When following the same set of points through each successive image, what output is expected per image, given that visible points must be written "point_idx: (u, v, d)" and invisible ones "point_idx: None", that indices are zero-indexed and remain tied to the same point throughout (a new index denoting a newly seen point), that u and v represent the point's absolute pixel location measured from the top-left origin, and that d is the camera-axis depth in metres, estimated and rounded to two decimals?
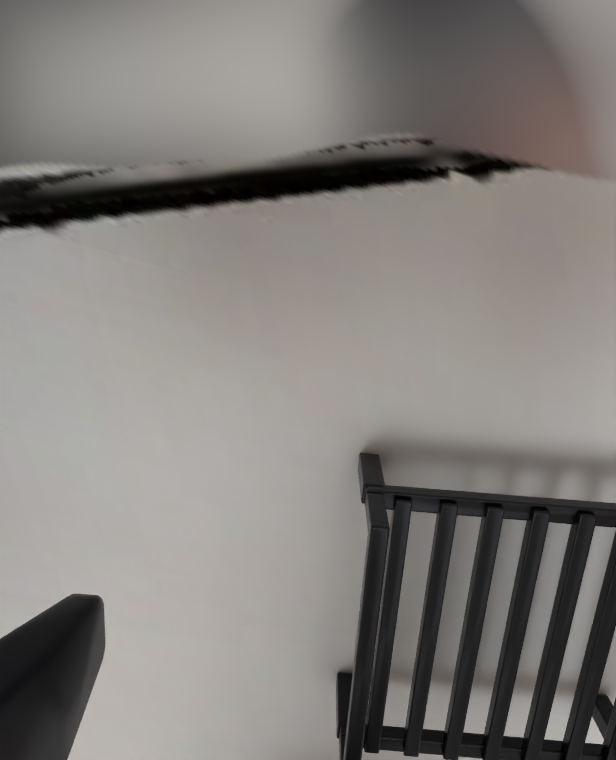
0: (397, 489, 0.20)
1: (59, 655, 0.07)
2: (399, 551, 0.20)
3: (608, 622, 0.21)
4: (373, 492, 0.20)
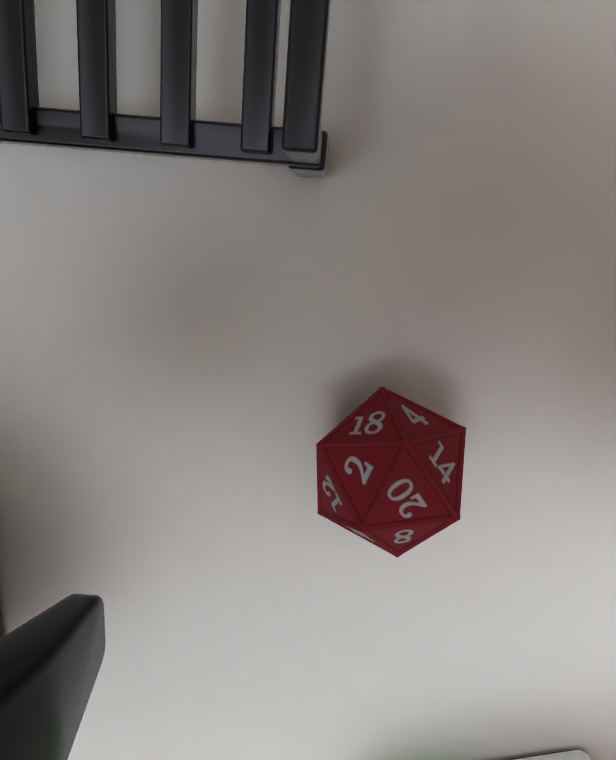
0: None
1: (59, 655, 0.07)
2: None
3: None
4: None
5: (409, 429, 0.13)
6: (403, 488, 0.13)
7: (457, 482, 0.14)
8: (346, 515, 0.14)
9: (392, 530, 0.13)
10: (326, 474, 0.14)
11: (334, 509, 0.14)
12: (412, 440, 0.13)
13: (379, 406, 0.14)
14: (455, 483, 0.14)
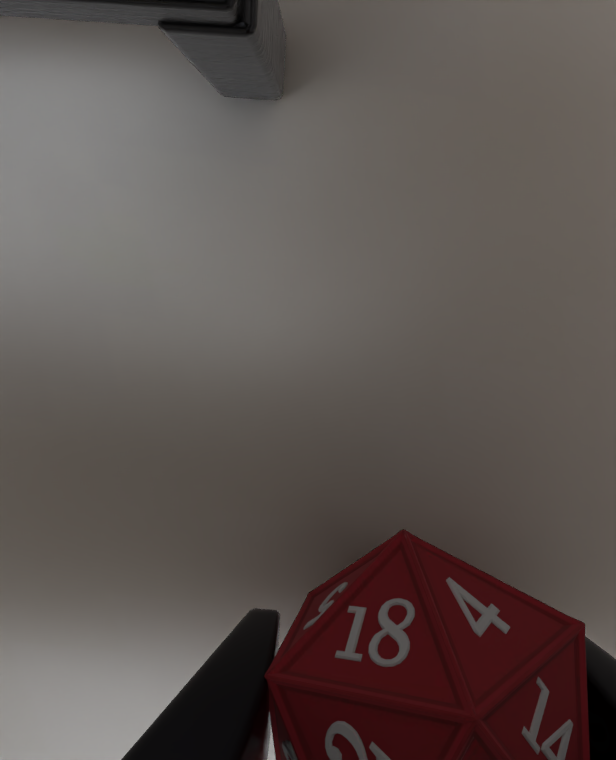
0: None
1: None
2: None
3: None
4: None
5: (473, 661, 0.06)
6: None
7: None
8: None
9: None
10: (287, 738, 0.06)
11: None
12: (485, 710, 0.05)
13: (400, 581, 0.07)
14: None
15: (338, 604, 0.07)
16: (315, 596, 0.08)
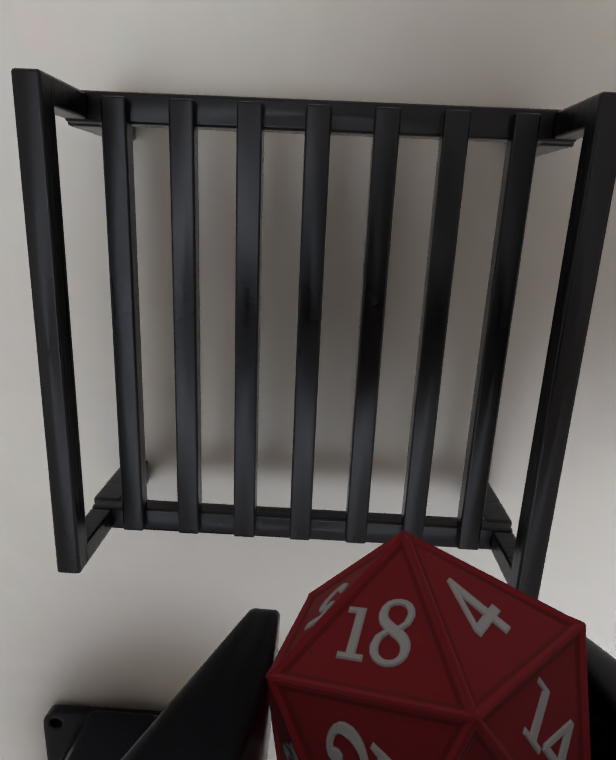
0: (113, 93, 0.14)
1: None
2: (118, 185, 0.14)
3: (438, 295, 0.14)
4: None
5: (474, 662, 0.06)
6: None
7: None
8: None
9: None
10: (288, 739, 0.06)
11: None
12: (486, 711, 0.05)
13: (400, 583, 0.07)
14: None
15: (339, 605, 0.07)
16: (316, 597, 0.08)
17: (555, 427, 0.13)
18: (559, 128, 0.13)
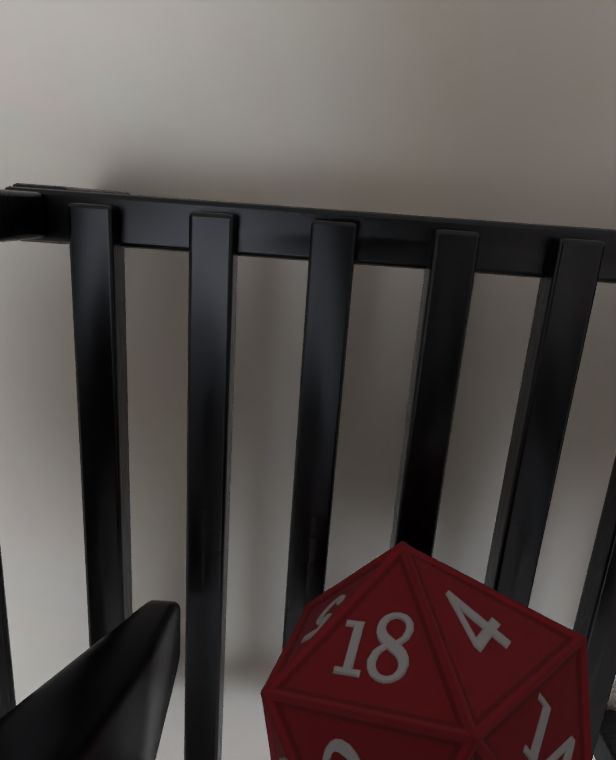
0: (94, 192, 0.08)
1: (150, 663, 0.07)
2: (98, 352, 0.08)
3: None
4: (18, 189, 0.08)
5: (474, 678, 0.06)
6: None
7: None
8: None
9: None
10: (284, 755, 0.06)
11: None
12: (485, 730, 0.05)
13: (399, 595, 0.07)
14: None
15: (336, 618, 0.07)
16: (313, 607, 0.08)
17: None
18: None
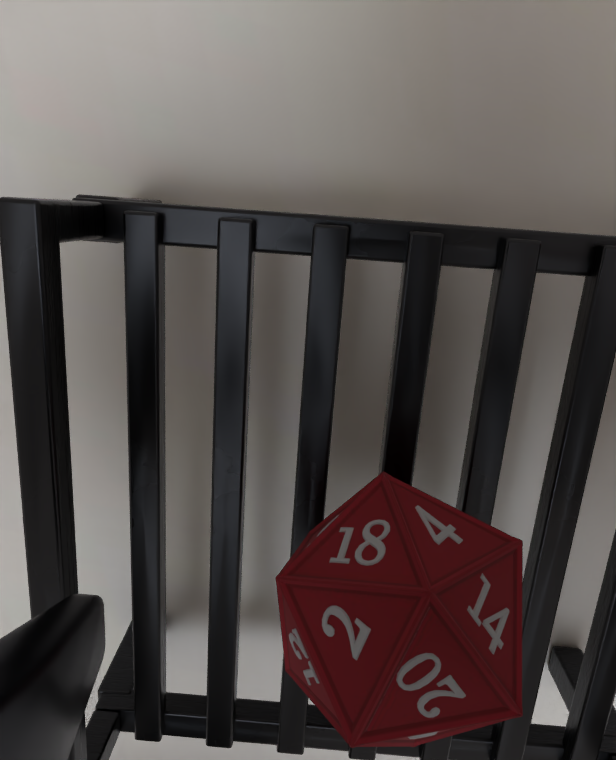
0: (141, 201, 0.10)
1: (59, 655, 0.07)
2: (144, 328, 0.10)
3: (570, 480, 0.11)
4: (83, 200, 0.10)
5: (432, 559, 0.08)
6: (425, 669, 0.07)
7: (514, 644, 0.08)
8: (327, 702, 0.08)
9: (405, 733, 0.08)
10: (293, 626, 0.08)
11: (309, 681, 0.09)
12: (438, 587, 0.07)
13: (379, 509, 0.09)
14: (511, 646, 0.08)
15: (332, 526, 0.09)
16: (314, 533, 0.10)
17: None
18: None
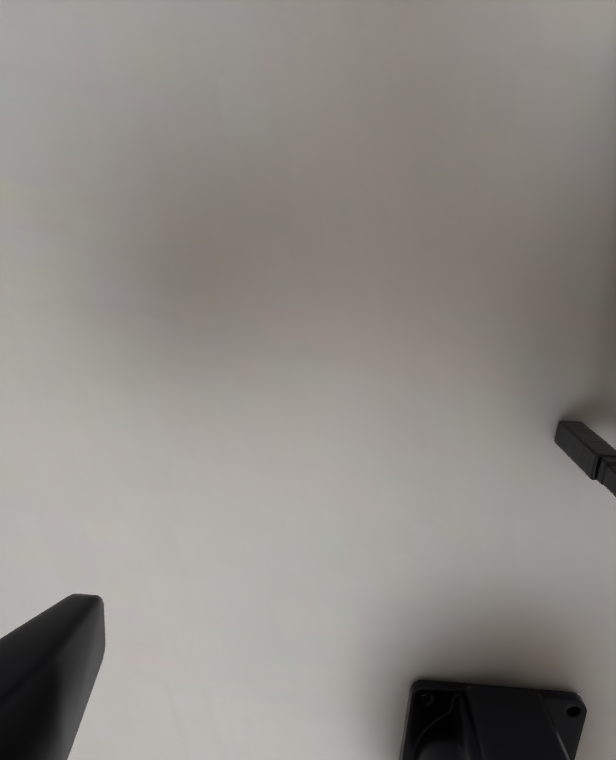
0: None
1: (59, 655, 0.07)
2: None
3: None
4: None
5: None
6: None
7: None
8: None
9: None
10: None
11: None
12: None
13: None
14: None
15: None
16: None
17: None
18: None
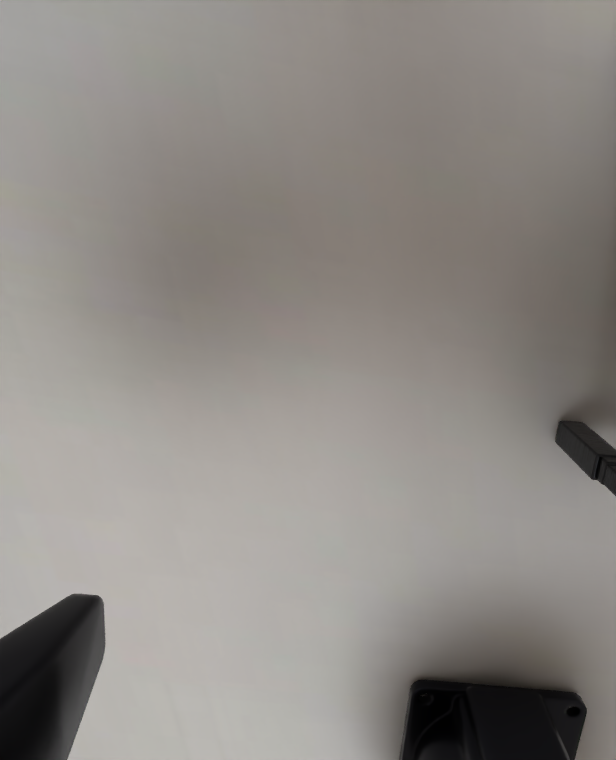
0: None
1: (59, 655, 0.07)
2: None
3: None
4: None
5: None
6: None
7: None
8: None
9: None
10: None
11: None
12: None
13: None
14: None
15: None
16: None
17: None
18: None
